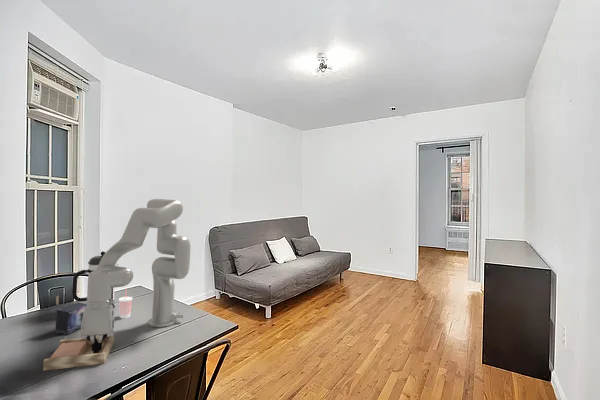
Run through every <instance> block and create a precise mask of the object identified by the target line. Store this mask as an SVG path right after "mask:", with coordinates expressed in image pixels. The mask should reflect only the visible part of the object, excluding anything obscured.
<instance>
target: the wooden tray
mask: <svg viewBox="0 0 600 400" xmlns="http://www.w3.org/2000/svg"><path fill="white" fill-rule="evenodd" d="M96 339H97V341H98V339H99V335H96ZM82 341H86V350H85V351H84V353H83V354H82V355H76V356H67V357H57V358H50V357H48V358H44V359H43V363H42V365H43V367H42V368H43V370H42V371H50V370H62V369H68V368H69V369H70V368H78V367H85V366H96V365H103V364H105V363H106V361H107V359H108V357H109V354H110V353H111V351H112V348H113V346H114V343H115V334H113V335H112V336H109V337H106V338H105V339H104V340H103V341H102V349H101V350H100V351H99V353H94V354H93V351H92V344H91V342H90V341H89V340H87V339H82V338H80V337H79V338H67V339H60V340H59V346H60V345H61V344H62V343H72V342H82Z"/></svg>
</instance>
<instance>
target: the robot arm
mask: <svg viewBox="0 0 600 400" xmlns="http://www.w3.org/2000/svg"><path fill="white" fill-rule="evenodd" d="M183 211H184V206H183V204H182V203H181V201H179V200H176V199H166V198H153V199H150V200H148V201H147V204H146V207H139V208H136V209H135V210H133V212H132V214H131V216H130V218H129V220H128V223H127V224H126V227H125V229H124V232H123V234H122V236H121V238H120V239H119V240H118V241H117V242H115V243H114V244H113V245H112V246H111V247H110V248H109V249H108V250H106V251H105V254H104V255H103V257H102V259H101V261H100V263H99V265H98V267H97V270H96V271H93V272H91V273H88V276H87V293H86V297H87V301H86V304H87V307H86V308H85V310H84V313H83V318H82V324H81V329H80V337H79V338H82V339H87V340H89V341H90V342H91V344H92V351H93V354H94V353H99V351H100V350H101V349H102V341H103V340H104V339H105V338H106V337H109V336H112V335H115V334H114V333H115V332H114V328H115V314H114V313H115V312H114V308H113V305H111V304H112V303H113V304H115V301H116V300H115V299H114V300H112V299H111V288H114V289H115V288H120V287H121V288H122V287H126V286H128V285H129V284H131V282H132V281H133V278H134V272H133V271H132V269H130V268H128V267H124V266H119V265H116V263H118V261H119V260H120V258H122V257H123V256H124V255H125V254H128V253H130V252H132V251H134V250H137V249H139V248H140V247H142V246H143V244H144V242H145V240H146V237H147V235H148V232H149V230H150V229H157V233H156V234H157V235H156V252H157V253H159V254H161V255H167V256H160V257H157V258H155V260H153V262H152V265H151V272H152V279H153V281H152V282H153V287H152V307H151V309H152V311H151V312H152V313H151V318H150V319H149V320H148V321H147V323H148V326H150V327H151V328H152V327H153V328H164V327H165V326H166V327H169V325H170V326H172V325H174V324H176V323H177V319H183V318H184V313H181V312H175V309H174V307H175V289H176V288H175V281H174V280H182V279H185V278H186V277H187V276H188V274H189V271H190V265H191V264H190V262H191V243H190V239H189V238H188V237H186V236H184V235H178V234H177V221H176V220H177V219H178V218H179V217H181V215H182V213H183ZM170 256H174V257H170ZM115 265H116V266H115ZM97 336H99V339H98V341H97V339H96V337H97Z"/></svg>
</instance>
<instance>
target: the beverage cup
mask: <svg viewBox="0 0 600 400" xmlns="http://www.w3.org/2000/svg"><path fill="white" fill-rule="evenodd" d="M127 290H128V288H127V287H126V288H125V295H124V296H122V297H119V298H118V302H119V305H118V307H119V309H118V310H119V311H118V312H119V318H120V319H127V318H130V317H131V311H132V304H133V303H132V302H133V299H134V298H133V297H132V296H127V293H128V292H127Z"/></svg>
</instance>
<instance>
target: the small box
mask: <svg viewBox="0 0 600 400" xmlns="http://www.w3.org/2000/svg"><path fill="white" fill-rule="evenodd" d="M86 307H87V303H83V302H75V303H72V304H70V305H67V306H63V307H61V308H58V309H56V314H55V315H56V316H55V330H54V334H56V335H62V336H68V335H71V334H73V333H76V332H77V331H79V330H80V331H81V324H82V318H83V313H84V310H85V308H86Z"/></svg>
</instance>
